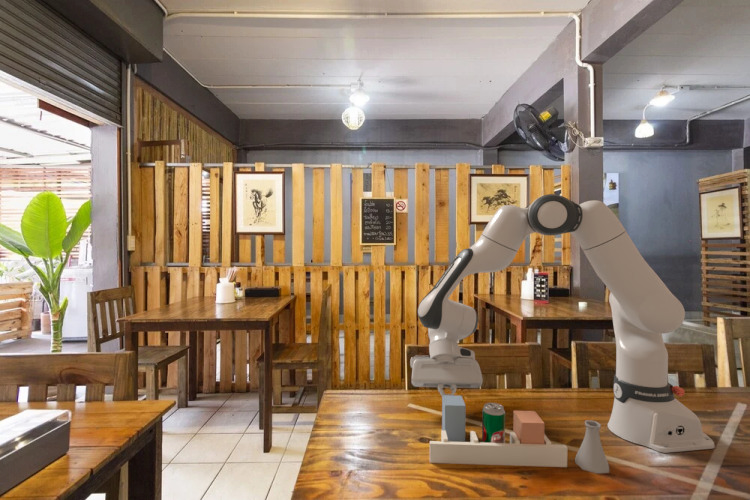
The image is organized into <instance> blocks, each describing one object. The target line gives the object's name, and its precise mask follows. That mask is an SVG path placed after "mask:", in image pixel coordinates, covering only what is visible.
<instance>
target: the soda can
mask: <svg viewBox="0 0 750 500" xmlns="http://www.w3.org/2000/svg"><path fill="white" fill-rule="evenodd" d="M481 413H482V414H481V415H482V416H481V422H482V423H481V424H482V427H481V442H484V443H506V411H505V410H504V406H503V405H502V404H500V403H497V402H487V403H484V405H483V407H482V411H481Z"/></svg>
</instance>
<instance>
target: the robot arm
mask: <svg viewBox="0 0 750 500" xmlns="http://www.w3.org/2000/svg"><path fill="white" fill-rule="evenodd" d="M534 233H537V234H540V235H543V236H549V237H550V236H557V235H558V236H560V235H563V234H567V233H569V234H571V235H572V237H574V239H575V240H576V241H577V243H578V245H579V246H580V248H581V250H582V251H583V253H584V255H585V257H586V258H587V260H588V262H589V264H590V265H591V267H592V269H593V270H594V272H595V274H596V276H597V277H598V278H599V279H600V280H601V281H602V283H604V285H605V286H606V288H607V289H608V290H609V297H608V301H609V305H610V308H611V317H612V325H613V331H614V339H615V348H616V350H615V351H616V354H615V355H616V356H615V357H616V358H615V360H616V361H615V374H614V375H613V397H614V398H613V399H614V400H613V405H612V411H611V414H610V418H609V421H608V422H607V428H608V430H610V431H611V433H613V434H614V435H616V437H617V436H618V437H619V438H621V439H623V440H625V441H628V442H631V443H634V444H636V445H641V446H644V447H647V448H650V449H652V450H654V451H656V452H660V453H666V454H667V453H677V452H689V451H699V450H710V449H715V448H716V445H715V442H714V441H713V439H712V438H710V436H709V435H707V434H706V433H705V432H703V426H702V422H701V421H700V419H699V417H698V416H697V415H696V413H694V412H693V411H692V410H690V409H689V408H688V407H687V406H685V405H684V404H683V403H682V402H680V401H679V400H678V399H677V398H675V395H676V396H678V397H683V396H684V395H685V393H686V392H685V390H684V389H683V388H682V387H679V386H677V385H674V386H673V384H671V383H670V382H668V377H669V375H668V372H669V371H668V370H669V368H668V367H669V366H668V365H669V354H668V349H667V348H666V345H665V343H664V338H663V334H669V333H672V332H674V331H676V330H677V329H679V328H680V327H681V326H682V324H683V322H684V320H685V317H686V311H685V308H684V305H683V304H682V302H681V301H680V300H679V299H678V298H677V297H676V295H674V294H673V293H672V292H671V291H670V289H669V288H668V286H667V285H666V284H665V283H664V282H663V280H662V279H661V278H660V277H659V276H658V274H657V273H656V272H655V270H654V269H653V268H652V267H651V266H650V264H649V263H648V262H647V261H646V260H645V258H644V257H643V256H642V255H641V253H640V251H639V250H638V248H637V247H636V245H635V243H634V242H633V240H632V238H631V237H630V235H629V234H628V231H627V230H626V229H625V227H624V225H623V224H622V222H621V221H620V219H619V218H618V217H617V216H616V214H615V213H614V212H613V211H612V210H611V209H610V208H609V206H607V204H606V203H605V202H603V201H601V200H598V199H597V200H596V199H595V200H594V199H593V200H587V201H584V202H581V203H580V204H578V203H576V202H574V201H573V200H570V199H569V198H567V197H565V196H563V195H560V194H555V193H549V194H545V195H544V194H543V195H541V196H539V197H537V198H536V199H535V200H533V202H532V203H530V204H529V205H527V206H525V207H524V208H523V207H520V206H517V205H513V204H507V205H506V204H505V205H502V206H500V207H499V208H498V209H497V210H496V212H494V214H493V215H492V217H491V218H490V219H489V221H488V223H487V224H486V226H485V227H484V229H483V231H482V233H481V234H480V236H479V237H478V240H476V242H475V243H474V244H472V245H471V246H470V247H468V248H463V250H460V252H459V253H458V254H457V255H456V256H455V257H454V259H453V260H452V261H451V263H450V264H449V265H448V266H447V268H446V269H445V271H444V272H443V274H442V275H441V276H440V278H439V279H438V280H437V282H436V283H435V285H434V286H433V287H432V289H431V290H430V291H429V292H427V294H426V295H425V296H424V297H423V298H422V299H421V301H420V302H419V304H418V307H417V317H418V319H419V322H420V323H421V325H422V326H423V327H424V328H425V329H428V330H427V333H428V338H429V345H428V350H429V355H428V354H426V355H425V354H423V355H419V354H415V355H414V356H412V357H411V358H410V361H409V367H410V368H411V385H412V386H413V387H416V388H418V387H419V388H437V391H438V393H439V394H440V396H441V397H442V395H451V396H455V394H456V391H457V389H459V388H460V389H462V388H463V389H480V387H482V385H483V374H482V369H481V368H480V364H479V362H478V361H477V360H476V358H475V357H476V353H475V351H474V350H472V349H469V348H465V347H462V346H460V345H459V344H458V342H459V341H463V340H464V339H466V338H468V337H470V336H471V335H473V334H474V333H475V332H476V330H477V329H478V325H479V317H478V313H477V311H476V309H475V308H474V307H472V306H470V305H467V304H464V303H461V302H458V301H456V300H452V299H449V298H450V297H451V295H452V294H453V292H455V290H456V288H457V287H458V286H459V285H460V283H461V282H462V280H464V278H466V277H467V276H470V275H473V274H479V273H481V274H483V273H489V274H490V273H496V272H501V271H503V270H505V269H508V267H509V266H510V265H511V263H512V262H513V261H514V259H515V258H516V255H517V253H518V251H519V249H520V248H521V246H522V244H523V242H524V240H525V239H526V238H527V237H528V236H529V235H531V234H534ZM444 388H449V389H450V391H451V393H446V392H445V391H444Z"/></svg>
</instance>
